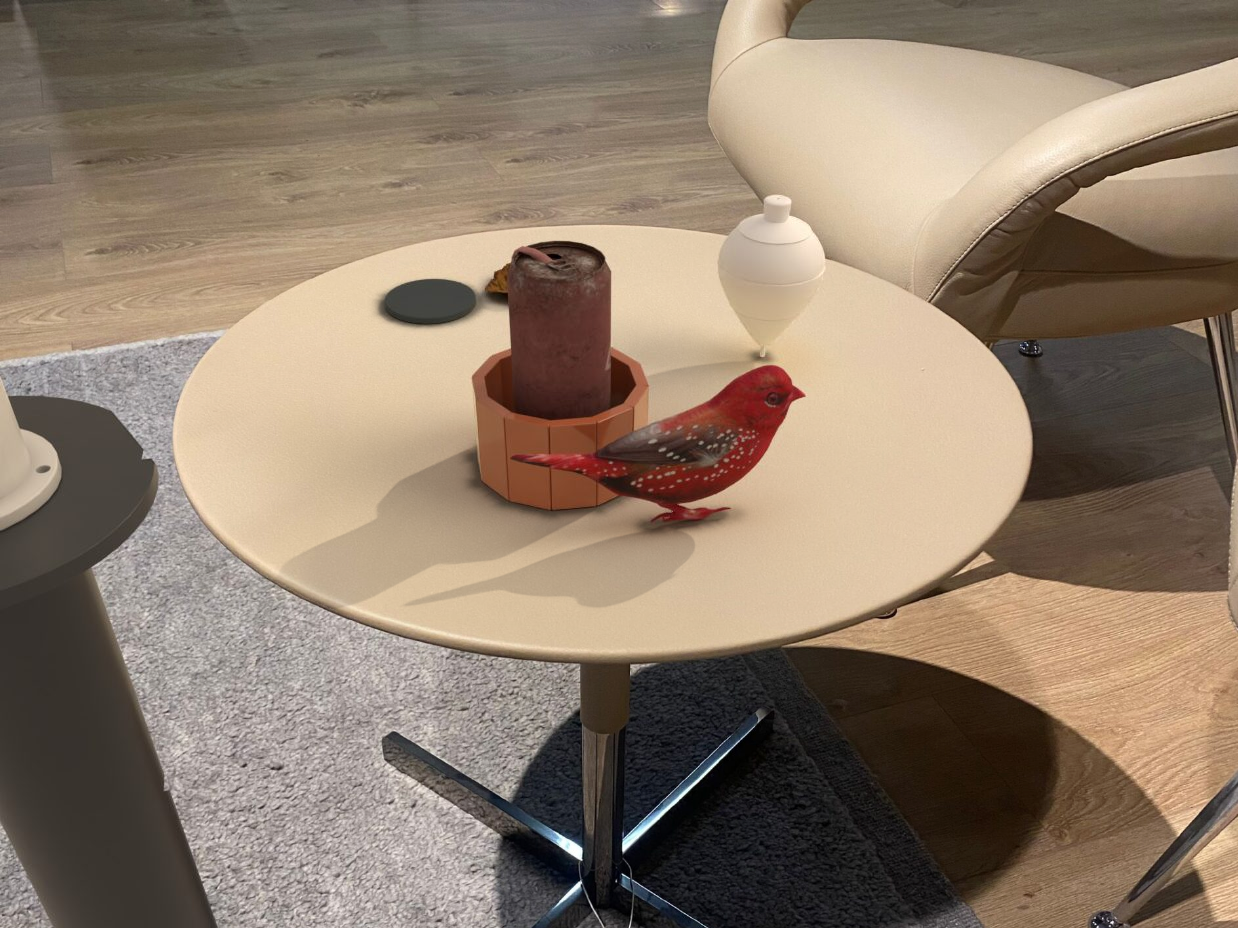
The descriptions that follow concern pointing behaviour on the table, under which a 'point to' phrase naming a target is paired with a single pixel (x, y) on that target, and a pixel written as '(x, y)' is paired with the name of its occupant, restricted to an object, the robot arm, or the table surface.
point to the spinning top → (770, 270)
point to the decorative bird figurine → (690, 446)
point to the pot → (550, 435)
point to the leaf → (499, 281)
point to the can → (560, 330)
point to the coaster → (430, 301)
